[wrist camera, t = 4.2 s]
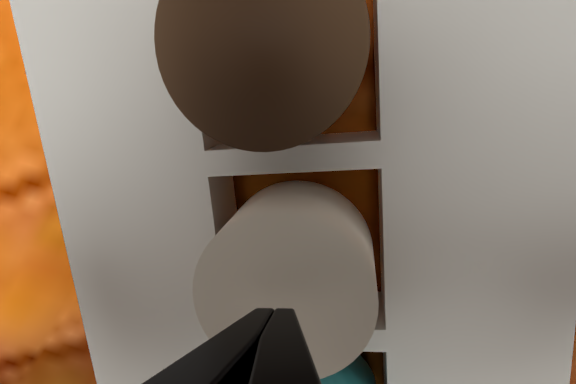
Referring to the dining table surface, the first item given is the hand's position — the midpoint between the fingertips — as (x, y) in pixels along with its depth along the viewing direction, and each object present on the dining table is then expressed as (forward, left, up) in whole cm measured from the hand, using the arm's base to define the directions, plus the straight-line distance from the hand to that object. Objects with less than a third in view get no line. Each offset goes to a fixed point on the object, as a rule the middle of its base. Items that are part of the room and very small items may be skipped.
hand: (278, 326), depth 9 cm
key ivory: (0, 0, -4) cm, 4 cm away
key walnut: (0, -6, -4) cm, 7 cm away
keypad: (0, 0, -6) cm, 7 cm away
